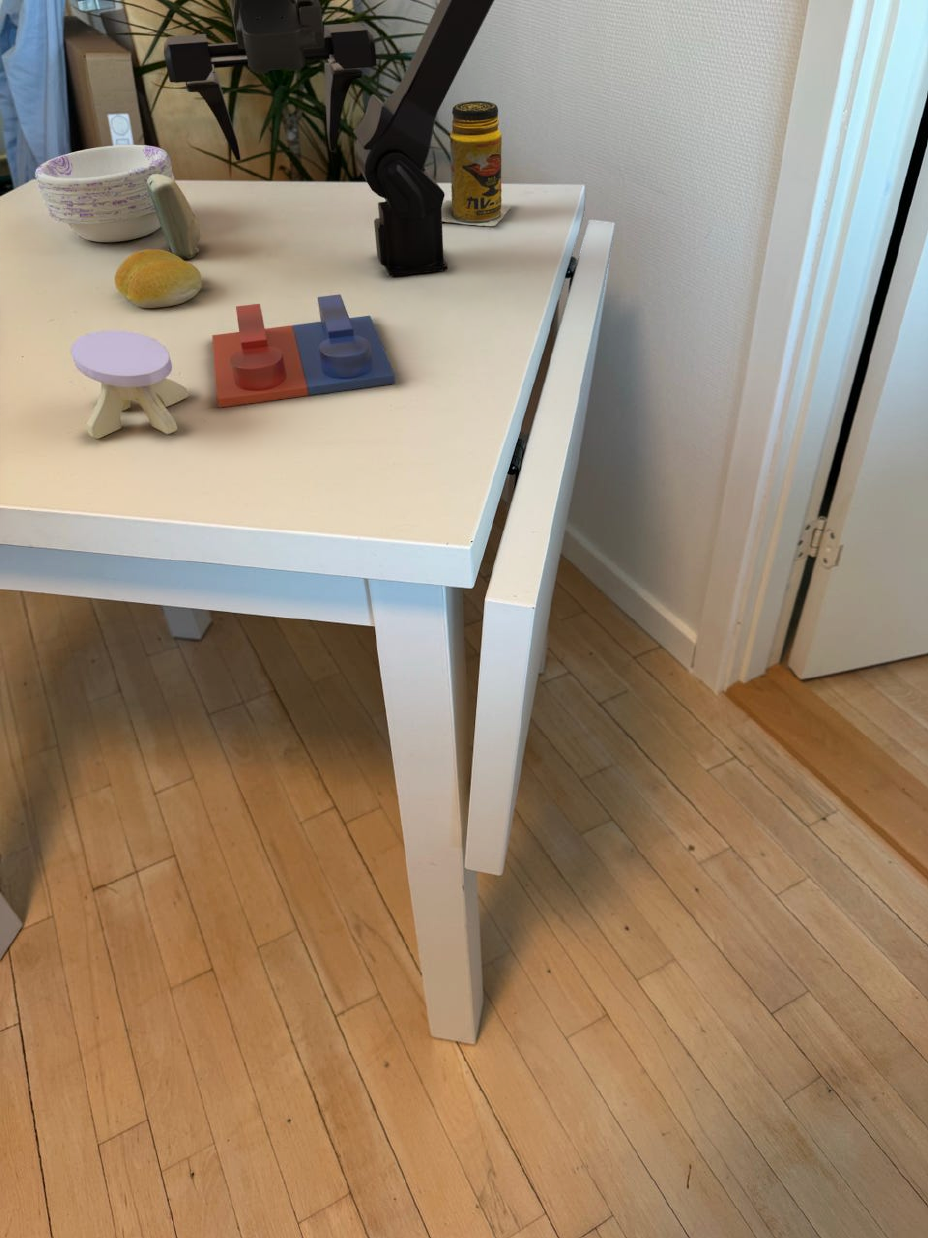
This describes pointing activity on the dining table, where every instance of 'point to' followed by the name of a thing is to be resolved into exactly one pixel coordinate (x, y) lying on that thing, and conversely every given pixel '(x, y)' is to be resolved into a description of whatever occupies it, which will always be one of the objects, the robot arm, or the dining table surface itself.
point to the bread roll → (157, 279)
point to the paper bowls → (104, 190)
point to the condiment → (475, 166)
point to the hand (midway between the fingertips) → (285, 155)
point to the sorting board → (298, 364)
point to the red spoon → (255, 353)
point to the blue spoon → (341, 342)
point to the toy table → (127, 378)
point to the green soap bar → (174, 216)
